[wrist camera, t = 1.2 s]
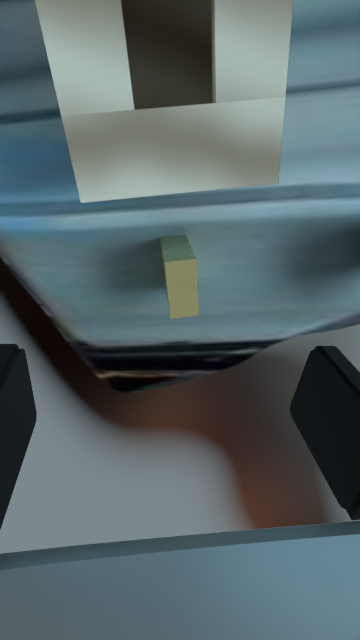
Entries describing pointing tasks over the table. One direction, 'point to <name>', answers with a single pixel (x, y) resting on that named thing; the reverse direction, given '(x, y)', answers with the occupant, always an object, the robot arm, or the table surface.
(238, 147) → the box
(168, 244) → the yellow flat block
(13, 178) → the table surface
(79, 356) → the table surface
